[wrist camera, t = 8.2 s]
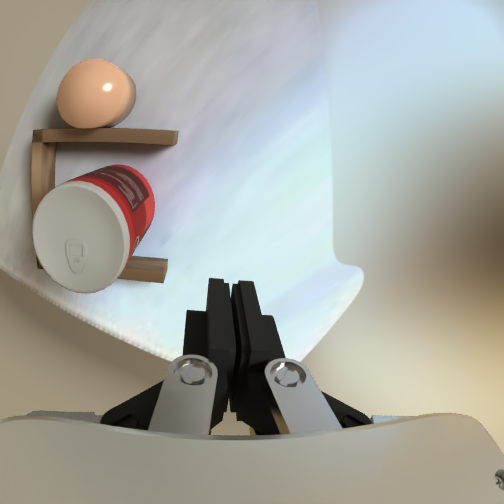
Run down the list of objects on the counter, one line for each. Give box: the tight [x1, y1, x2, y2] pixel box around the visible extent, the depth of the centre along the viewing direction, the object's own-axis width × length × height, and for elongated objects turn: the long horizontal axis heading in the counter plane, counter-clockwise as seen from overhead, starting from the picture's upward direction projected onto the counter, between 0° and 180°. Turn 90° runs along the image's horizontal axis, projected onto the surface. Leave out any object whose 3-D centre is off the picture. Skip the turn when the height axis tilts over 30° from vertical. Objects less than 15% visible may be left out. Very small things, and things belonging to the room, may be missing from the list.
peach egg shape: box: [57, 59, 136, 128], centre depth 22 cm, size 6×6×5 cm
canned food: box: [32, 165, 155, 293], centre depth 23 cm, size 8×8×11 cm
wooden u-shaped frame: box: [31, 128, 178, 283], centre depth 27 cm, size 14×14×3 cm
